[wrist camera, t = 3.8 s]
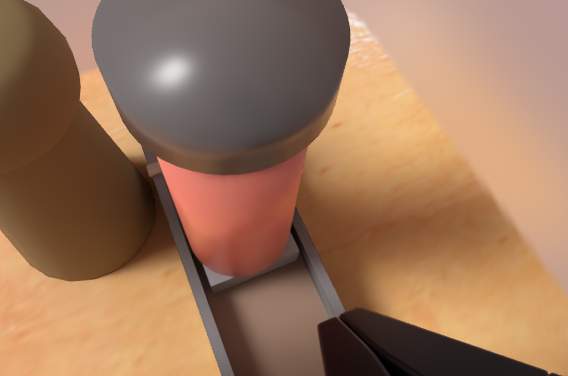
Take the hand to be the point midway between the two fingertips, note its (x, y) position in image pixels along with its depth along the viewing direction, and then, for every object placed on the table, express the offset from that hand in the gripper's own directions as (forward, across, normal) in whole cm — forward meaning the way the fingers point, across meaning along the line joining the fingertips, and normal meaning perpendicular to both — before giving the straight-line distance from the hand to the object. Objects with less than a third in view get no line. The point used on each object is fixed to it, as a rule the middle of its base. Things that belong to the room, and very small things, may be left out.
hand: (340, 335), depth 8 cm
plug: (+11, 0, +3) cm, 11 cm away
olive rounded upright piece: (+15, +6, +1) cm, 16 cm away
